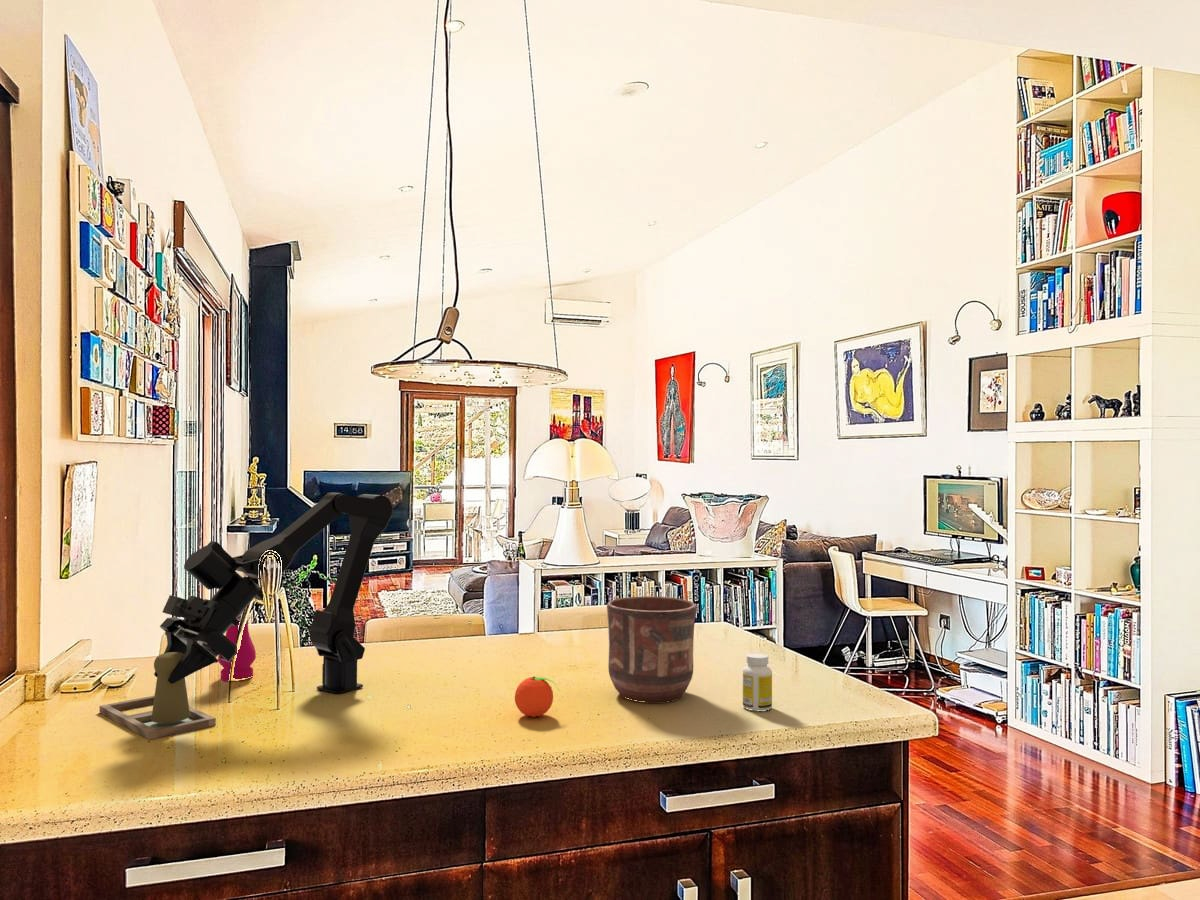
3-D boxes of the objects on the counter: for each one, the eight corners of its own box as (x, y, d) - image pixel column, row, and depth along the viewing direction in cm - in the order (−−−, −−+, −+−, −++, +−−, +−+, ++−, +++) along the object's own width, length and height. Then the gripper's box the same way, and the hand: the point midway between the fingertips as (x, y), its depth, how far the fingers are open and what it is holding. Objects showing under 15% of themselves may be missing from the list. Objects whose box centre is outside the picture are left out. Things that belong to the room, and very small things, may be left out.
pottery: (708, 689, 180) (708, 599, 180) (678, 712, 164) (678, 613, 164) (627, 680, 187) (627, 593, 187) (591, 700, 171) (591, 606, 171)
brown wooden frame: (215, 725, 153) (215, 718, 153) (149, 739, 145) (149, 732, 145) (162, 700, 168) (162, 694, 168) (99, 712, 160) (99, 705, 160)
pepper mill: (242, 683, 181) (243, 584, 181) (210, 681, 182) (211, 582, 182) (262, 674, 188) (263, 579, 188) (231, 672, 189) (232, 578, 190)
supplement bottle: (773, 705, 169) (774, 653, 169) (769, 713, 164) (770, 659, 164) (745, 702, 170) (745, 651, 170) (740, 710, 165) (740, 657, 165)
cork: (152, 714, 155) (152, 651, 155) (190, 710, 157) (190, 648, 157) (149, 724, 149) (149, 658, 149) (189, 720, 152) (189, 655, 152)
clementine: (556, 709, 165) (556, 671, 165) (561, 721, 158) (561, 680, 158) (512, 711, 163) (513, 672, 163) (515, 722, 157) (516, 682, 157)
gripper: (171, 572, 162) (105, 643, 154) (218, 583, 150) (149, 660, 142) (214, 609, 168) (153, 680, 160) (263, 623, 156) (199, 700, 148)
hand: (162, 679), depth 152 cm, fingers closed on cork, 5 cm apart
